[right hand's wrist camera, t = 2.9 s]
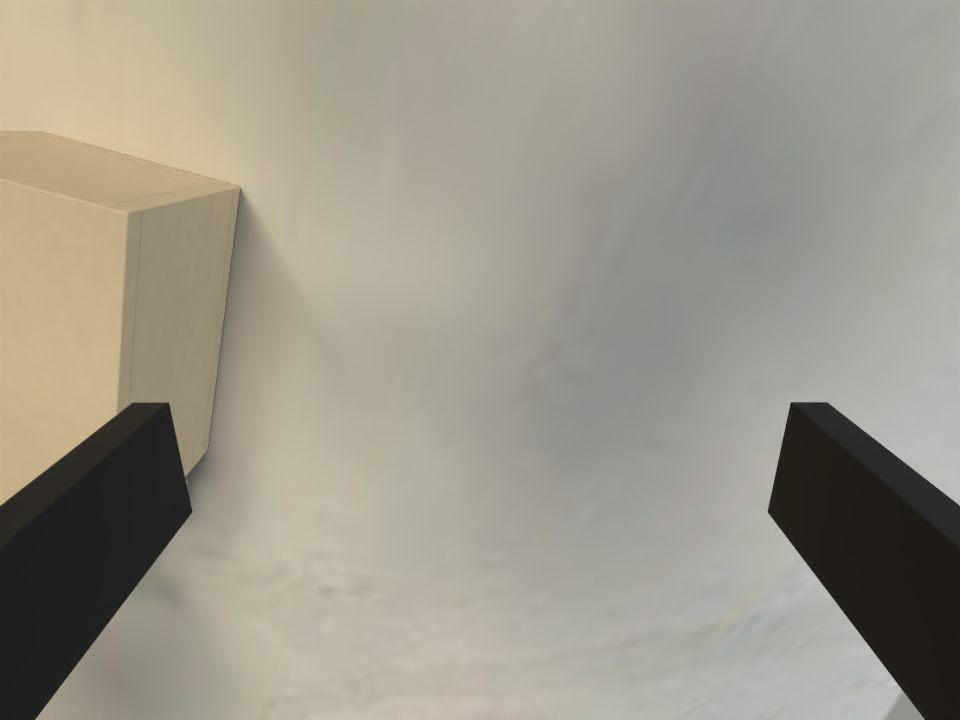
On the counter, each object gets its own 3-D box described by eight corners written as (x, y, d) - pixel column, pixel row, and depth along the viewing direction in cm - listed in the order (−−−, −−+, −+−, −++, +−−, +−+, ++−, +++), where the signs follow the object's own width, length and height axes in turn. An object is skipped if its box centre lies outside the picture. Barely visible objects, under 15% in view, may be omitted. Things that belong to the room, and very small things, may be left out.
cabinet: (208, 450, 36) (107, 568, 26) (39, 411, 35) (-130, 518, 25) (241, 186, 30) (128, 213, 21) (40, 131, 29) (-177, 131, 20)
